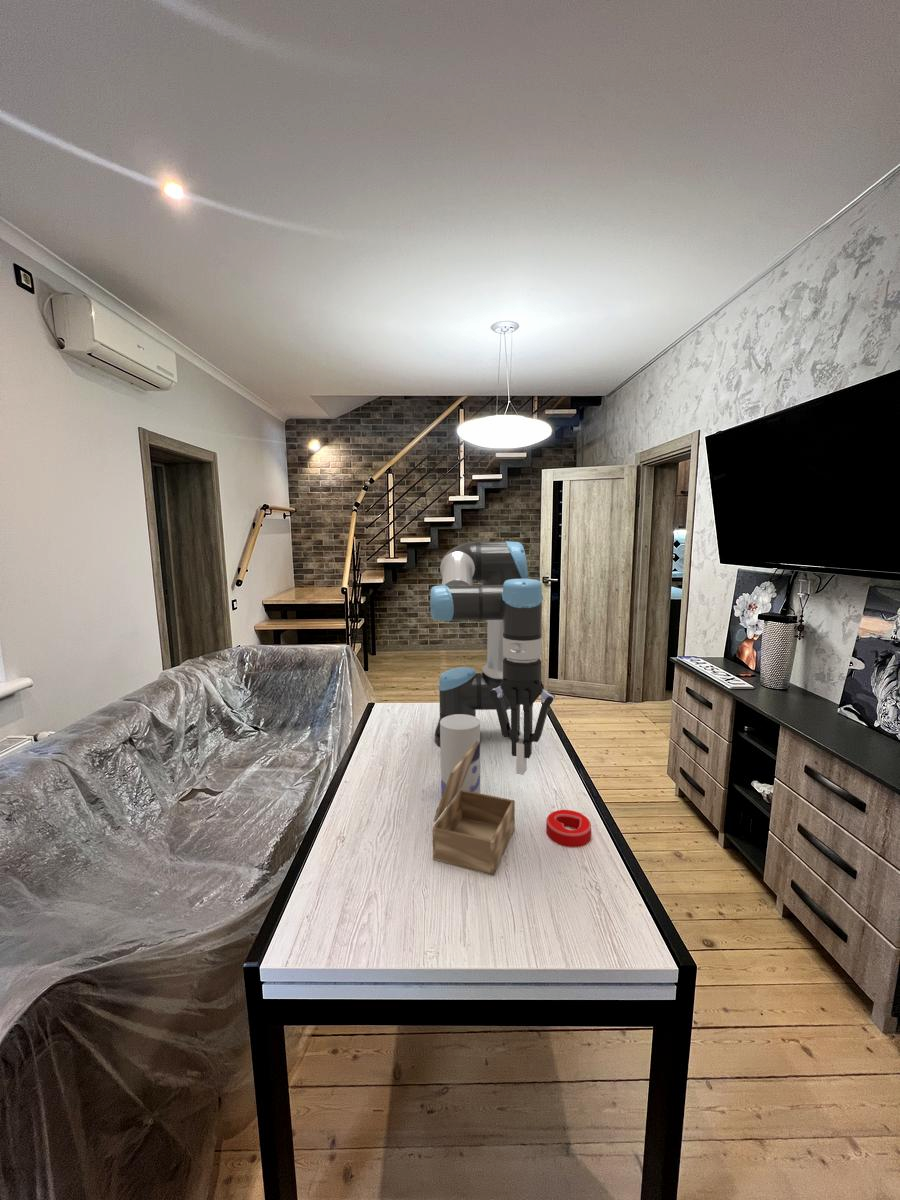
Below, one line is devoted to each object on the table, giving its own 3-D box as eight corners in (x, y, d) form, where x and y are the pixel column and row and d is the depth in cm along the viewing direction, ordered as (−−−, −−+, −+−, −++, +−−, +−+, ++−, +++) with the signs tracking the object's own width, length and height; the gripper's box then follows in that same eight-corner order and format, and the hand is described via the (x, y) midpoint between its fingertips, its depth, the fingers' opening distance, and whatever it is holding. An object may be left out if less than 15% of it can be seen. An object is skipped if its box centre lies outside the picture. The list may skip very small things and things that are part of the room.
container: (477, 808, 118) (476, 730, 115) (437, 804, 120) (435, 727, 117) (482, 787, 127) (482, 714, 125) (445, 784, 129) (444, 712, 127)
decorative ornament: (598, 833, 108) (599, 820, 107) (576, 854, 101) (577, 840, 100) (561, 816, 114) (561, 804, 114) (537, 834, 107) (538, 821, 107)
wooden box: (461, 817, 114) (460, 789, 113) (514, 829, 109) (514, 800, 108) (432, 859, 99) (432, 828, 98) (493, 875, 94) (493, 842, 93)
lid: (462, 786, 112) (459, 784, 113) (478, 741, 109) (476, 740, 110) (435, 822, 98) (432, 821, 99) (453, 773, 95) (450, 771, 95)
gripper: (484, 659, 94) (485, 774, 97) (551, 665, 89) (550, 786, 92) (495, 651, 101) (496, 758, 104) (558, 656, 96) (557, 768, 99)
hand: (521, 771), depth 98 cm, fingers closed
